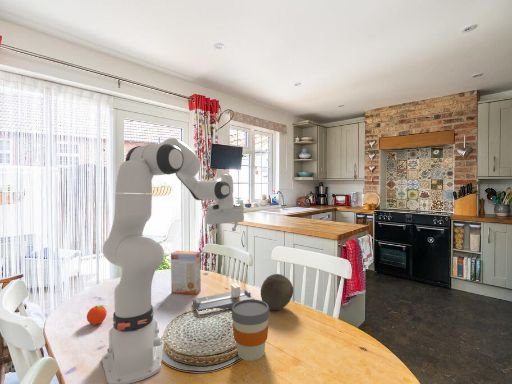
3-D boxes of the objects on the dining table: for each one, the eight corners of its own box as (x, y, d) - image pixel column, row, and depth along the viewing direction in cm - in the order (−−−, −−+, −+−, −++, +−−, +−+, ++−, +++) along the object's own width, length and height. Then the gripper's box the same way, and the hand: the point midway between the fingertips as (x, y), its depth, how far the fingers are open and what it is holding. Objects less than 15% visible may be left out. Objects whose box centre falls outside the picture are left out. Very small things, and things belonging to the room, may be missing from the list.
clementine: (107, 316, 113) (106, 299, 113) (111, 322, 108) (111, 305, 108) (85, 323, 107) (84, 306, 107) (89, 330, 102) (88, 311, 102)
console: (254, 303, 124) (254, 295, 124) (198, 315, 113) (198, 306, 113) (244, 294, 135) (244, 286, 135) (192, 304, 124) (192, 295, 123)
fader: (240, 296, 124) (240, 286, 124) (234, 297, 123) (234, 287, 123) (236, 292, 129) (236, 283, 129) (231, 293, 128) (231, 284, 128)
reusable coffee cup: (239, 368, 80) (239, 319, 79) (227, 345, 91) (226, 302, 91) (276, 357, 85) (276, 311, 84) (260, 337, 96) (259, 296, 96)
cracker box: (201, 290, 139) (200, 251, 139) (196, 295, 134) (195, 254, 133) (176, 288, 142) (176, 250, 142) (171, 293, 137) (170, 252, 136)
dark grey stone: (270, 319, 109) (269, 283, 109) (256, 305, 122) (255, 272, 122) (298, 312, 115) (298, 277, 115) (282, 299, 128) (282, 268, 128)
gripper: (241, 204, 145) (241, 229, 145) (204, 205, 136) (204, 232, 137) (245, 204, 139) (246, 231, 140) (207, 206, 131) (207, 234, 131)
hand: (225, 231), depth 138 cm, fingers open, 8 cm apart
